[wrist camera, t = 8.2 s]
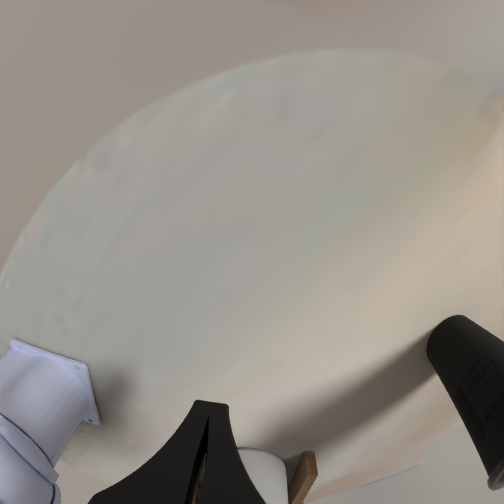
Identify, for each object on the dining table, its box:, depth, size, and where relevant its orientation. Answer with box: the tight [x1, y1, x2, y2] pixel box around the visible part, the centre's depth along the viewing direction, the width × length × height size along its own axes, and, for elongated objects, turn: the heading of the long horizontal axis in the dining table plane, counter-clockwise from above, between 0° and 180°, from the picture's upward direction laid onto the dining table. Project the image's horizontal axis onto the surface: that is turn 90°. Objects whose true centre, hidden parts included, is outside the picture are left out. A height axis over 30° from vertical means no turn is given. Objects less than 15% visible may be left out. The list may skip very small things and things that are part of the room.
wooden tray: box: [193, 452, 318, 504], centre depth 24 cm, size 14×10×3 cm
